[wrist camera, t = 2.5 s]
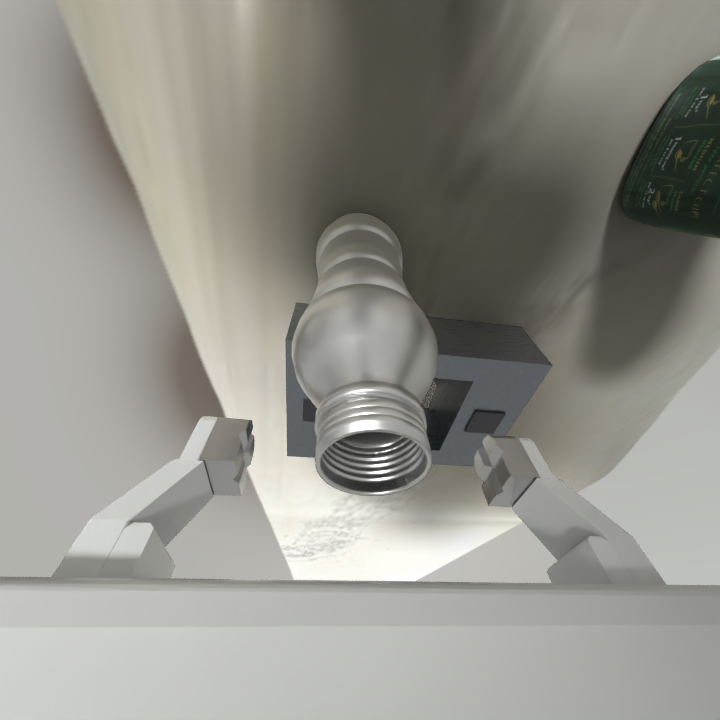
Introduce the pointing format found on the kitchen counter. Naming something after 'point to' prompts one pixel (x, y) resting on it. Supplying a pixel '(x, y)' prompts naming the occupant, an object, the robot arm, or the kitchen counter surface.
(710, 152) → the coffee jar
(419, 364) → the silver bottle
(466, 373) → the grey slotted block
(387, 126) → the kitchen counter surface
